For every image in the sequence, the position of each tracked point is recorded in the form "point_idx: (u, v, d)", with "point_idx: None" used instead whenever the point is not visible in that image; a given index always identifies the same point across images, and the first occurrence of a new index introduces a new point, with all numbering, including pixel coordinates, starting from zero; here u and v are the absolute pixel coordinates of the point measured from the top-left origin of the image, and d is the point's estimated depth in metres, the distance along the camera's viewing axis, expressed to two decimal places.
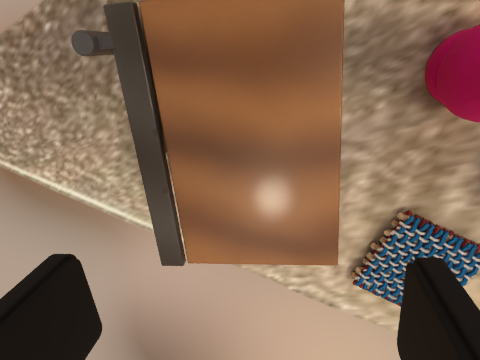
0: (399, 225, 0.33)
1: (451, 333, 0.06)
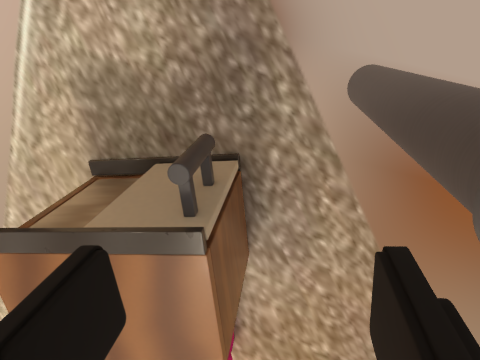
0: None
1: (406, 312, 0.06)
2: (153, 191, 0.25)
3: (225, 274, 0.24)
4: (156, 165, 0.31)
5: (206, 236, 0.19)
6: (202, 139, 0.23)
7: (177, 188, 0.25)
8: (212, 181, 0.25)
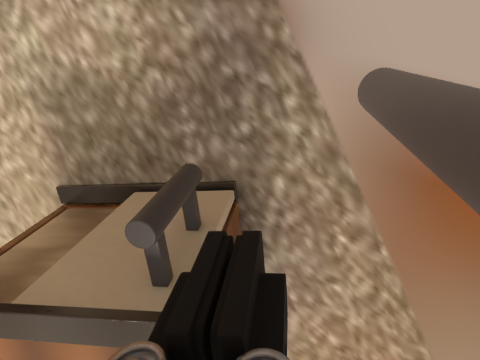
0: None
1: (227, 281, 0.08)
2: (122, 236, 0.20)
3: None
4: (134, 194, 0.26)
5: None
6: (183, 173, 0.18)
7: None
8: (197, 225, 0.19)
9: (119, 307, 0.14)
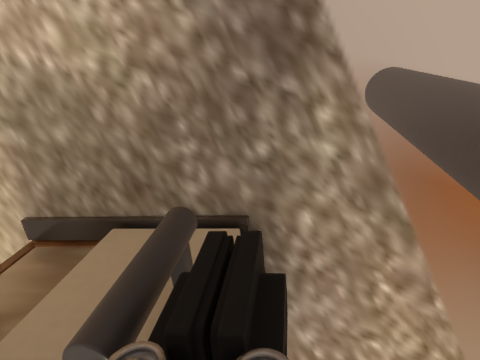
0: None
1: (227, 281, 0.08)
2: (87, 308, 0.14)
3: None
4: (112, 233, 0.20)
5: None
6: (169, 227, 0.12)
7: None
8: None
9: None
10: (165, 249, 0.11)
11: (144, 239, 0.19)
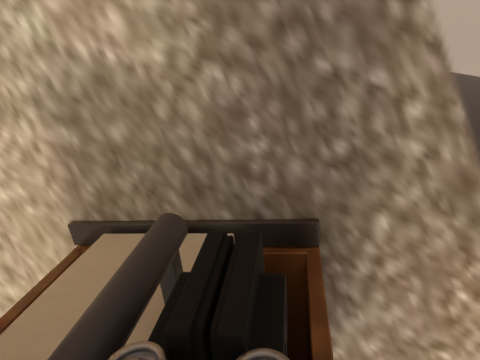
0: None
1: (227, 281, 0.08)
2: (73, 318, 0.13)
3: None
4: (103, 238, 0.19)
5: None
6: (157, 235, 0.12)
7: None
8: None
9: None
10: (152, 259, 0.10)
11: (135, 244, 0.18)
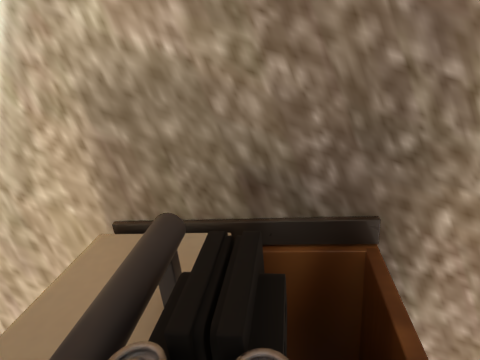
0: None
1: (227, 281, 0.08)
2: (70, 320, 0.13)
3: None
4: (99, 239, 0.19)
5: None
6: (155, 235, 0.12)
7: None
8: None
9: None
10: (151, 259, 0.10)
11: (132, 245, 0.18)
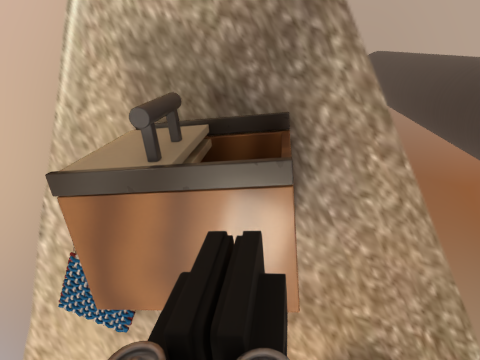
0: None
1: (227, 281, 0.08)
2: (124, 147, 0.27)
3: None
4: (131, 131, 0.33)
5: None
6: (167, 95, 0.25)
7: None
8: (179, 137, 0.27)
9: None
10: (165, 99, 0.24)
11: None
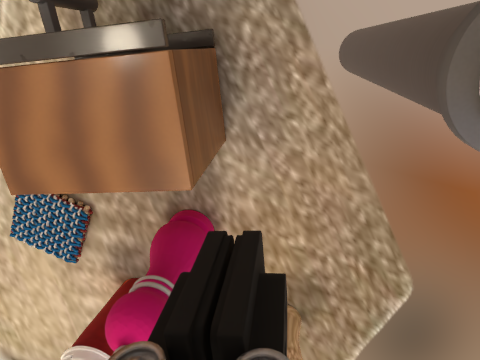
0: (79, 207, 0.43)
1: (227, 281, 0.08)
2: None
3: (192, 106, 0.25)
4: None
5: None
6: None
7: None
8: None
9: None
10: None
11: None
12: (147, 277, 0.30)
